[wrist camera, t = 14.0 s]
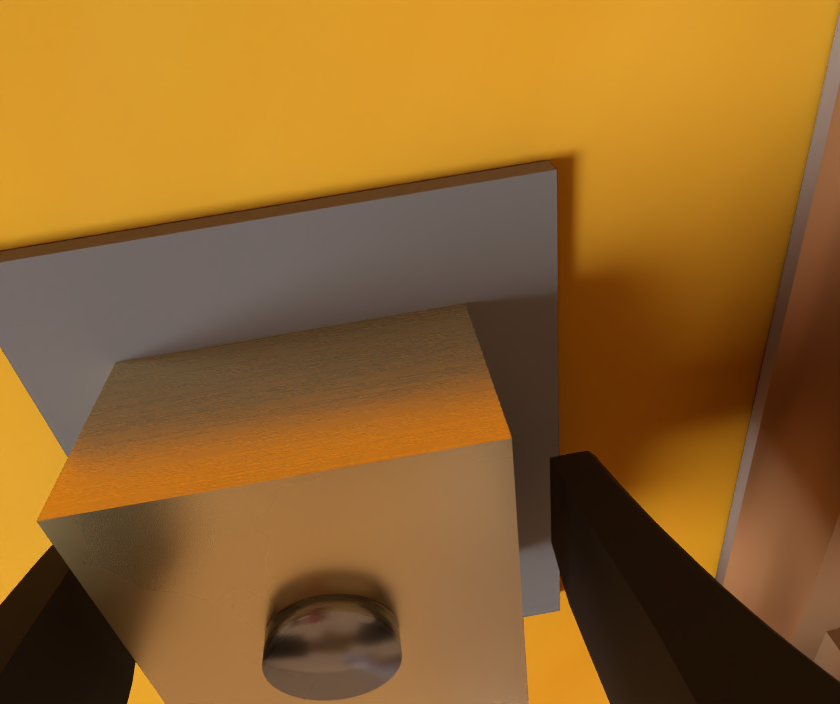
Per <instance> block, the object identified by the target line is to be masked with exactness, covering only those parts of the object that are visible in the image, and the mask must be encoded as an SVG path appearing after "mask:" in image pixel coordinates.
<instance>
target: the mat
mask: <svg viewBox="0 0 840 704" xmlns="http://www.w3.org/2000/svg"><path fill="white" fill-rule="evenodd" d="M462 303H465V305H466V307H467V310H468V313H469V316H470V319H471V322H472V325H473V328H474V330H475V333H476V336H477V339H478V342H479V345H480V348H481V351H482V353H483V356H484V359H485V362H486V365H487V368H488V371H489V374H490V377H491V379H492V382H493V385H494V388H495V391H496V394H497V397H498V400H499V402H500V405H501V408H502V411H503V414H504V417H505V420H506V423H507V425H508V428H509V431H510V434H511V437H512V448H513V464H514V480H515V496H516V512H517V528H518V544H519V559H520V575H521V591H522V607H523V617H527V616H533V615H538V614H544V613H549V612H555V611H560V571H559V568H558V564H557V561H556V557H555V554H554V550H553V547H552V543H551V501H550V457H555V456H559V408H558V260H557V169H556V168H555V167H554V166H553V165H552V164H551V163H550V161H549V160H547V161H541V162H535V163H529V164H523V165H517V166H511V167H505V168H499V169H493V170H487V171H481V172H475V173H469V174H463V175H457V176H451V177H445V178H439V179H433V180H427V181H421V182H415V183H409V184H403V185H397V186H391V187H385V188H379V189H373V190H367V191H361V192H355V193H349V194H343V195H337V196H331V197H325V198H319V199H313V200H307V201H301V202H295V203H289V204H283V205H277V206H271V207H265V208H259V209H253V210H247V211H241V212H235V213H229V214H223V215H217V216H211V217H205V218H199V219H193V220H187V221H181V222H175V223H169V224H163V225H157V226H151V227H145V228H139V229H133V230H127V231H121V232H115V233H109V234H103V235H97V236H90V237H84V238H78V239H72V240H66V241H60V242H54V243H48V244H42V245H36V246H30V247H24V248H18V249H12V250H6V251H0V347H1V349H2V351H3V352H4V354H5V356H6V357H7V359H8V360H9V362H10V364H11V365H12V367H13V369H14V370H15V372H16V374H17V375H18V377H19V378H20V380H21V382H22V383H23V385H24V387H25V388H26V390H27V392H28V393H29V395H30V396H31V398H32V400H33V401H34V403H35V405H36V406H37V408H38V409H39V411H40V413H41V414H42V416H43V418H44V419H45V421H46V423H47V424H48V426H49V427H50V429H51V431H52V432H53V434H54V436H55V437H56V439H57V441H58V442H59V444H60V445H61V447H62V449H63V450H64V452H65V454H66V455H67V457H69V455H70V453H71V451H72V449H73V447H74V445H75V443H76V441H77V439H78V437H79V435H80V433H81V431H82V429H83V427H84V425H85V423H86V421H87V419H88V417H89V415H90V413H91V411H92V408H93V406H94V404H95V402H96V400H97V398H98V396H99V394H100V392H101V390H102V388H103V386H104V384H105V382H106V380H107V378H108V376H109V374H110V372H111V370H112V368H113V366H114V364H115V362H121V361H127V360H133V359H139V358H145V357H151V356H157V355H162V354H168V353H174V352H180V351H186V350H192V349H198V348H203V347H209V346H215V345H221V344H227V343H233V342H239V341H245V340H250V339H256V338H262V337H268V336H274V335H280V334H286V333H291V332H297V331H303V330H309V329H315V328H321V327H327V326H333V325H338V324H344V323H350V322H356V321H362V320H368V319H374V318H379V317H385V316H391V315H397V314H403V313H409V312H415V311H421V310H426V309H432V308H438V307H444V306H450V305H456V304H462Z"/></svg>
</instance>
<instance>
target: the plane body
mask: <svg viewBox="0 0 840 704" xmlns="http://www.w3.org/2000/svg"><path fill="white" fill-rule="evenodd" d="M715 579H716V580H717V581H718V582H719V583H720V584H721V585H722V586H723V587H724V588H726V589H727V590H728V591H729V592H730V593H731V594H732V595H734V596H735V597H736V598H737V599H738V600H739V601H740V602H742V603H743V604H744V605H745V606H746V607H747V608H748V609H749V610H751V611H752V612H753V613H754V614H755V615H757V616H758V617H759V618H760V619H761V620H762V621H764V622H765V623H766V624H767V625H768V626H770V627H771V628H772V629H773V630H774V631H776V632H777V633H778V634H779V635H781V636H782V637H783V638H784V639H785V640H787V641H788V642H789V643H790V644H792V645H793V646H794V647H795V648H797V649H798V650H799V651H801V652H802V653H803V654H804V655H806V656H807V657H808V658H810V659H811V660H812V661H813V662H815V663H816V664H817V665H818V666H820V667H821V668H822V669H824V670H825V671H826V672H827V673H829V674H830V675H832V676H833V677H834V678H836V679H837V680H838V681H840V12H839V17H838V21H837V26H836V30H835V35H834V39H833V44H832V49H831V53H830V58H829V62H828V67H827V71H826V76H825V81H824V85H823V90H822V94H821V99H820V103H819V108H818V112H817V117H816V122H815V126H814V131H813V135H812V140H811V144H810V149H809V154H808V158H807V163H806V167H805V172H804V176H803V181H802V186H801V190H800V195H799V199H798V204H797V208H796V213H795V217H794V222H793V227H792V231H791V236H790V240H789V245H788V249H787V254H786V259H785V263H784V268H783V272H782V277H781V281H780V286H779V291H778V295H777V300H776V304H775V309H774V313H773V318H772V322H771V327H770V332H769V336H768V341H767V345H766V350H765V354H764V359H763V364H762V368H761V373H760V377H759V382H758V386H757V391H756V396H755V400H754V405H753V409H752V414H751V418H750V423H749V427H748V432H747V437H746V441H745V446H744V450H743V455H742V459H741V464H740V469H739V473H738V478H737V482H736V487H735V491H734V496H733V501H732V505H731V510H730V514H729V519H728V523H727V528H726V532H725V537H724V542H723V546H722V551H721V555H720V560H719V564H718V569H717V574H716V578H715Z"/></svg>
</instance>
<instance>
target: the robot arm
mask: <svg viewBox="0 0 840 704" xmlns="http://www.w3.org/2000/svg"><path fill="white" fill-rule="evenodd" d="M550 501H551V543H552V547H553V550H554V554H555V557H556V561H557V564H558V568H559V571H560V575H561V578H562V581H563V585H564V588H565V591H566V595H567V598H568V601H569V604H570V607H571V609H572V612H573V614H574V617H575V619H576V622H577V624H578V627H579V629H580V632H581V634H582V637H583V639H584V641H585V644H586V646H587V649H588V651H589V654H590V656H591V659H592V661H593V663H594V666H595V668H596V671H597V673H598V676H599V678H600V680H601V683H602V685H603V688H604V690H605V692H606V695H607V697H608V700H609V702H610V704H840V681H838V680H837V679H836V678H834V677H833V676H832V675H830V674H829V673H827V672H826V671H825V670H824V669H822V668H821V667H820V666H818V665H817V664H816V663H815V662H813V661H812V660H811V659H810V658H808V657H807V656H806V655H804V654H803V653H802V652H801V651H799V650H798V649H797V648H795V647H794V646H793V645H792V644H790V643H789V642H788V641H787V640H785V639H784V638H783V637H782V636H781V635H779V634H778V633H777V632H776V631H774V630H773V629H772V628H771V627H770V626H768V625H767V624H766V623H765V622H764V621H762V620H761V619H760V618H759V617H758V616H757V615H755V614H754V613H753V612H752V611H751V610H749V609H748V608H747V607H746V606H745V605H744V604H743V603H742V602H740V601H739V600H738V599H737V598H736V597H735V596H734V595H732V594H731V593H730V592H729V591H728V590H727V589H726V588H724V587H723V586H722V585H721V584H720V583H719V582H718V581H717V580H716V579H714V578H713V577H712V576H711V575H710V574H709V573H708V572H707V571H706V570H705V569H704V568H703V567H701V566H700V565H699V564H698V563H697V562H696V561H695V560H694V559H693V558H692V557H691V556H690V555H689V554H688V553H687V552H686V551H685V550H684V549H683V548H682V547H681V546H680V545H679V544H678V543H677V542H675V541H674V540H673V539H672V538H671V537H670V536H669V535H668V534H667V533H666V532H665V531H664V530H663V529H662V528H661V527H660V526H659V525H658V524H657V523H656V522H655V521H654V520H653V519H652V518H651V517H650V516H649V515H648V514H647V512H646V511H645V510H644V509H643V508H642V507H641V506H640V505H639V504H638V503H637V502H636V501H635V500H634V499H633V498H632V497H631V496H630V495H629V493H628V492H627V491H626V490H625V489H624V488H623V487H622V486H621V485H620V484H619V483H618V481H617V480H616V479H615V478H614V477H613V476H612V475H611V474H610V472H609V471H608V470H607V469H606V468H605V467H604V466H603V464H602V463H601V462H600V461H599V460H598V459H597V457H596V456H595V455H594V454H592V453H591V452H589V451H584V452H578V453H572V454H567V455H561V456H555V457H550ZM135 662H136V661H135V660H134V658H133V657H132V656H131V654H130V653H129V651H128V650H127V649H126V647H125V646H124V644H123V643H122V641H121V640H120V639H119V637H118V636H117V634H116V633H115V632H114V630H113V629H112V627H111V626H110V624H109V623H108V622H107V620H106V619H105V617H104V616H103V615H102V613H101V612H100V610H99V609H98V607H97V606H96V605H95V603H94V602H93V600H92V599H91V598H90V596H89V595H88V593H87V592H86V590H85V589H84V588H83V586H82V585H81V583H80V582H79V581H78V579H77V578H76V576H75V575H74V573H73V572H72V571H71V569H70V568H69V566H68V565H67V564H66V562H65V561H64V559H63V558H62V556H61V555H60V554H59V552H58V551H57V549H56V548H55V547H54V545H52V546H51V547H50V548H49V549H48V550H47V551H46V552H45V554H44V555H43V556H42V557H41V558H40V559H39V560H38V561H37V563H36V564H35V565H34V566H33V567H32V568H31V569H30V571H29V572H28V573H27V574H26V575H25V576H24V578H23V579H22V580H21V581H20V582H19V583H18V585H17V586H16V587H15V588H14V589H13V591H12V592H11V593H10V594H9V595H8V596H7V598H6V599H5V600H4V601H3V602H2V604H1V605H0V704H127V702H128V698H129V694H130V690H131V686H132V681H133V675H134V668H135Z"/></svg>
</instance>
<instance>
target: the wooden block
mask: <svg viewBox="0 0 840 704" xmlns="http://www.w3.org/2000/svg"><path fill="white" fill-rule="evenodd" d="M37 522H38V524H39V525H40V527H41V528H42V530H43V531H44V532H45V534H46V535H47V537H48V538H49V539H50V541H51V542H52V544H53V545H54V547H55V548H56V549H57V551H58V552H59V554H60V555H61V556H62V558H63V559H64V561H65V562H66V564H67V565H68V566H69V568H70V569H71V571H72V572H73V573H74V575H75V576H76V578H77V579H78V581H79V582H80V583H81V585H82V586H83V588H84V589H85V590H86V592H87V593H88V595H89V596H90V598H91V599H92V600H93V602H94V603H95V605H96V606H97V607H98V609H99V610H100V612H101V613H102V615H103V616H104V617H105V619H106V620H107V622H108V623H109V624H110V626H111V627H112V629H113V630H114V632H115V633H116V634H117V636H118V637H119V639H120V640H121V641H122V643H123V644H124V646H125V647H126V649H127V650H128V651H129V653H130V654H131V656H132V657H133V658H134V660H135V661H136V663H137V664H138V666H139V667H140V668H141V670H142V671H143V673H144V674H145V675H146V677H147V678H148V680H149V681H150V683H151V684H152V685H153V687H154V688H155V690H156V691H157V692H158V694H159V695H160V697H161V698H162V700H163V701H164V702H165V704H529V702H528V686H527V671H526V655H525V639H524V623H523V607H522V591H521V575H520V559H519V544H518V528H517V512H516V496H515V480H514V464H513V448H512V437H511V434H510V431H509V428H508V425H507V423H506V420H505V417H504V414H503V411H502V408H501V405H500V402H499V400H498V397H497V394H496V391H495V388H494V385H493V382H492V379H491V377H490V374H489V371H488V368H487V365H486V362H485V359H484V356H483V353H482V351H481V348H480V345H479V342H478V339H477V336H476V333H475V330H474V328H473V325H472V322H471V319H470V316H469V313H468V310H467V307H466V305H465V303H462V304H456V305H450V306H444V307H438V308H432V309H426V310H421V311H415V312H409V313H403V314H397V315H391V316H385V317H379V318H374V319H368V320H362V321H356V322H350V323H344V324H338V325H333V326H327V327H321V328H315V329H309V330H303V331H297V332H291V333H286V334H280V335H274V336H268V337H262V338H256V339H250V340H245V341H239V342H233V343H227V344H221V345H215V346H209V347H203V348H198V349H192V350H186V351H180V352H174V353H168V354H162V355H157V356H151V357H145V358H139V359H133V360H127V361H121V362H115V364H114V366H113V368H112V370H111V372H110V374H109V376H108V378H107V380H106V382H105V384H104V386H103V388H102V390H101V392H100V394H99V396H98V398H97V400H96V402H95V404H94V406H93V408H92V411H91V413H90V415H89V417H88V419H87V421H86V423H85V425H84V427H83V429H82V431H81V433H80V435H79V437H78V439H77V441H76V443H75V445H74V447H73V449H72V451H71V453H70V455H69V457H68V459H67V461H66V463H65V465H64V467H63V469H62V471H61V473H60V475H59V477H58V479H57V481H56V483H55V485H54V487H53V489H52V491H51V493H50V495H49V497H48V499H47V501H46V503H45V505H44V507H43V509H42V511H41V513H40V515H39V517H38V519H37Z"/></svg>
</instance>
